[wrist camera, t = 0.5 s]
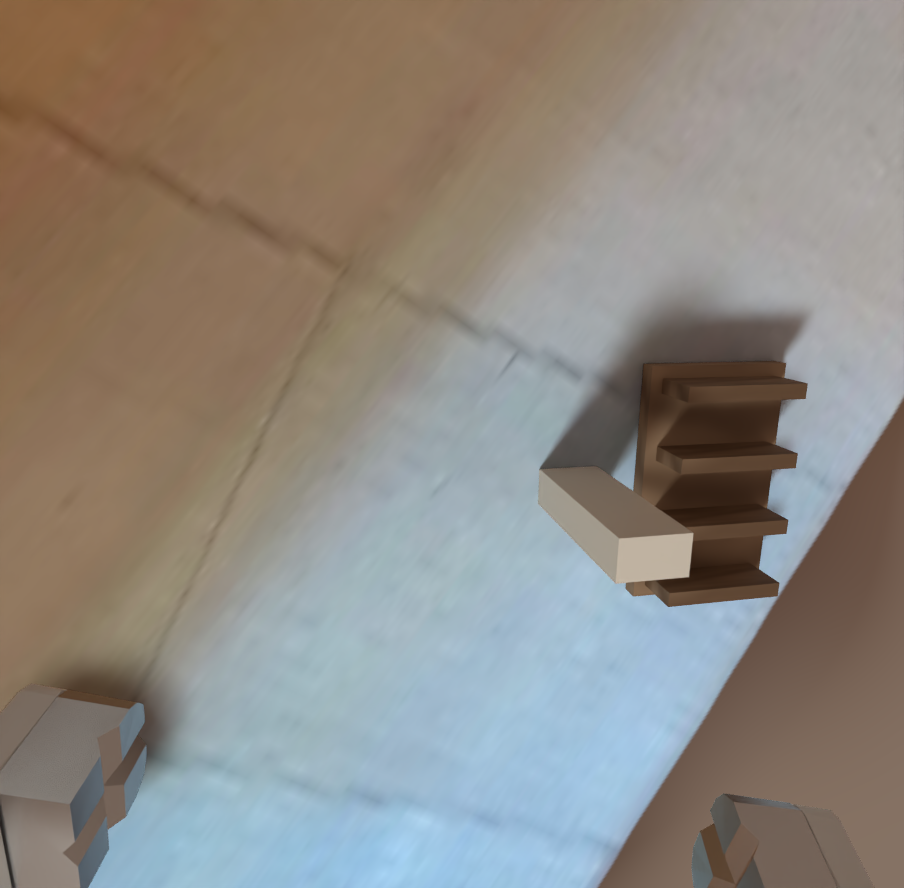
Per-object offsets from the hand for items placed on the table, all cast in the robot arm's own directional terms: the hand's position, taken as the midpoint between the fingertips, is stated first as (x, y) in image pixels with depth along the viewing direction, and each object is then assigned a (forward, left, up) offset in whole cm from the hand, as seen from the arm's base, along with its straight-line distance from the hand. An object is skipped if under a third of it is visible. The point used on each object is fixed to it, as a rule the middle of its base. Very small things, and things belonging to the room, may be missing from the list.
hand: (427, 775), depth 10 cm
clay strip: (+10, +19, -43) cm, 48 cm away
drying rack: (+10, +31, -43) cm, 54 cm away
